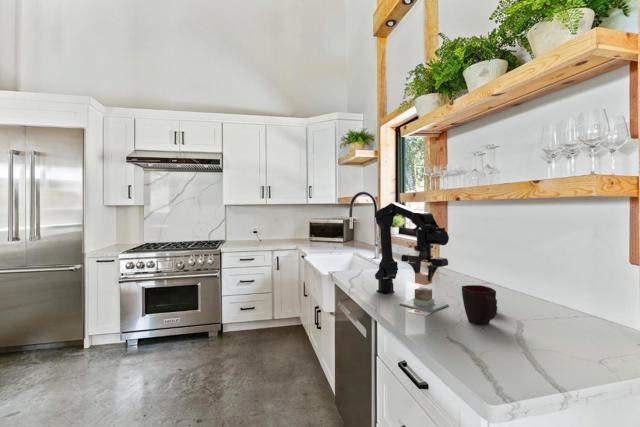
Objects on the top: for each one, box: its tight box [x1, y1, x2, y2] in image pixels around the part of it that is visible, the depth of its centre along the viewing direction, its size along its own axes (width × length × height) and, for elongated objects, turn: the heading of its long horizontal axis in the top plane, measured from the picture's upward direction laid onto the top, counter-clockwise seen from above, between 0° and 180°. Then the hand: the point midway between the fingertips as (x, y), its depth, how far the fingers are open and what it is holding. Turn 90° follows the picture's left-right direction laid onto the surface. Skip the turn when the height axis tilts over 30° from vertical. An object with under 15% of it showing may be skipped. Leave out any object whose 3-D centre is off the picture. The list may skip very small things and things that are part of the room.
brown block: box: [414, 286, 433, 301], centre depth 133 cm, size 5×5×4 cm
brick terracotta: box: [414, 271, 433, 286], centre depth 133 cm, size 5×5×4 cm
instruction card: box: [408, 308, 431, 317], centre depth 124 cm, size 7×5×1 cm
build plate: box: [399, 297, 449, 314], centre depth 133 cm, size 14×14×3 cm
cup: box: [461, 284, 498, 326], centre depth 111 cm, size 10×14×12 cm
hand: (423, 280), depth 133 cm, fingers closed on brick terracotta, 5 cm apart
